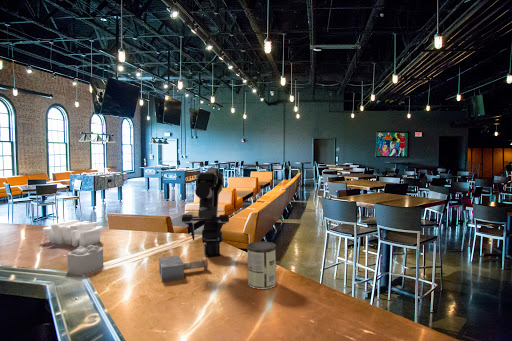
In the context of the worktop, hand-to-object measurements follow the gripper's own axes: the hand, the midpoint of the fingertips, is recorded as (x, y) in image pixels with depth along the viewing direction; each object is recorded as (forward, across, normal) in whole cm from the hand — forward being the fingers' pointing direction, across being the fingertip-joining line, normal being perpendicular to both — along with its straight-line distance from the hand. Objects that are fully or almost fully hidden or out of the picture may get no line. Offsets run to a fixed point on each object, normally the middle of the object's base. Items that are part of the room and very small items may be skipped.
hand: (205, 240), depth 127 cm
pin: (+12, -6, +2) cm, 14 cm away
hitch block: (+13, -13, 0) cm, 18 cm away
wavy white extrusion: (+1, -71, +52) cm, 88 cm away
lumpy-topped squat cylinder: (+11, -48, +12) cm, 51 cm away
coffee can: (+16, +21, -13) cm, 29 cm away
